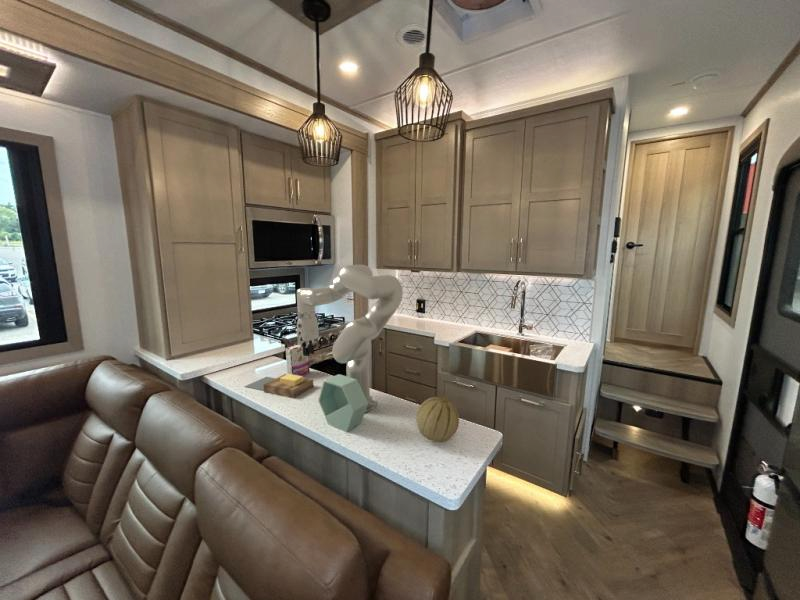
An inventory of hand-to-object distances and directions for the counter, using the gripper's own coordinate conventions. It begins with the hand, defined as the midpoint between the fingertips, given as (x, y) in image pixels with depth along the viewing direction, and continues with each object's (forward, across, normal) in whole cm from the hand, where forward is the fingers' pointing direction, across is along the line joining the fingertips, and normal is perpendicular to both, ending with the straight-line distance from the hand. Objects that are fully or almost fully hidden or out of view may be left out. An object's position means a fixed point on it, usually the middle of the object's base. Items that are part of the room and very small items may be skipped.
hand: (308, 354), depth 150 cm
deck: (+19, 0, +13) cm, 23 cm away
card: (+15, 0, +11) cm, 19 cm away
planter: (+19, -17, -30) cm, 39 cm away
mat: (+19, +1, +29) cm, 35 cm away
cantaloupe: (+19, -13, -66) cm, 70 cm away
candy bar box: (+19, +17, +22) cm, 34 cm away
